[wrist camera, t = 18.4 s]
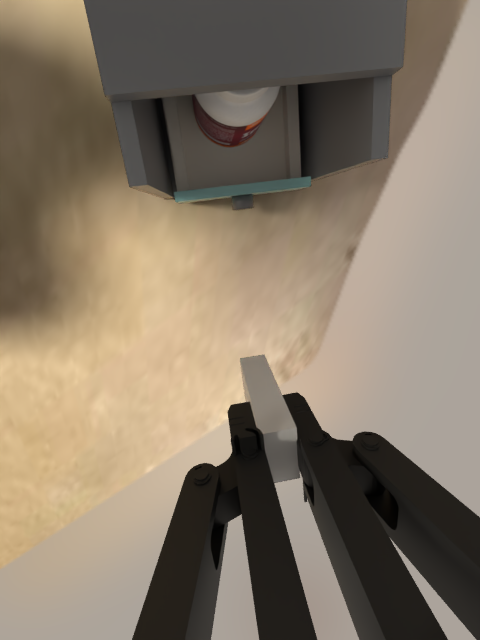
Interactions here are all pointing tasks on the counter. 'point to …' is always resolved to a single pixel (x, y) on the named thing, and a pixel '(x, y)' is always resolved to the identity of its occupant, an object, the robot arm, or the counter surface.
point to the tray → (235, 154)
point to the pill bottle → (232, 114)
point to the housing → (250, 72)
